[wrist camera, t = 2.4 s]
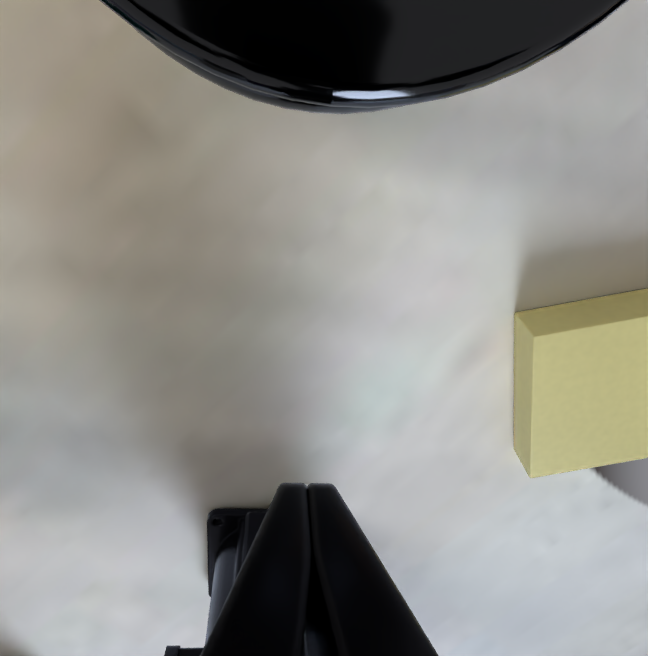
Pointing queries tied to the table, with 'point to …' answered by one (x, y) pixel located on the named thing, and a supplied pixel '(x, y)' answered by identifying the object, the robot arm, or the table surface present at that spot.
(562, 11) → the supplement container
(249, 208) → the table surface
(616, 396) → the sticky notes
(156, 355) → the table surface
